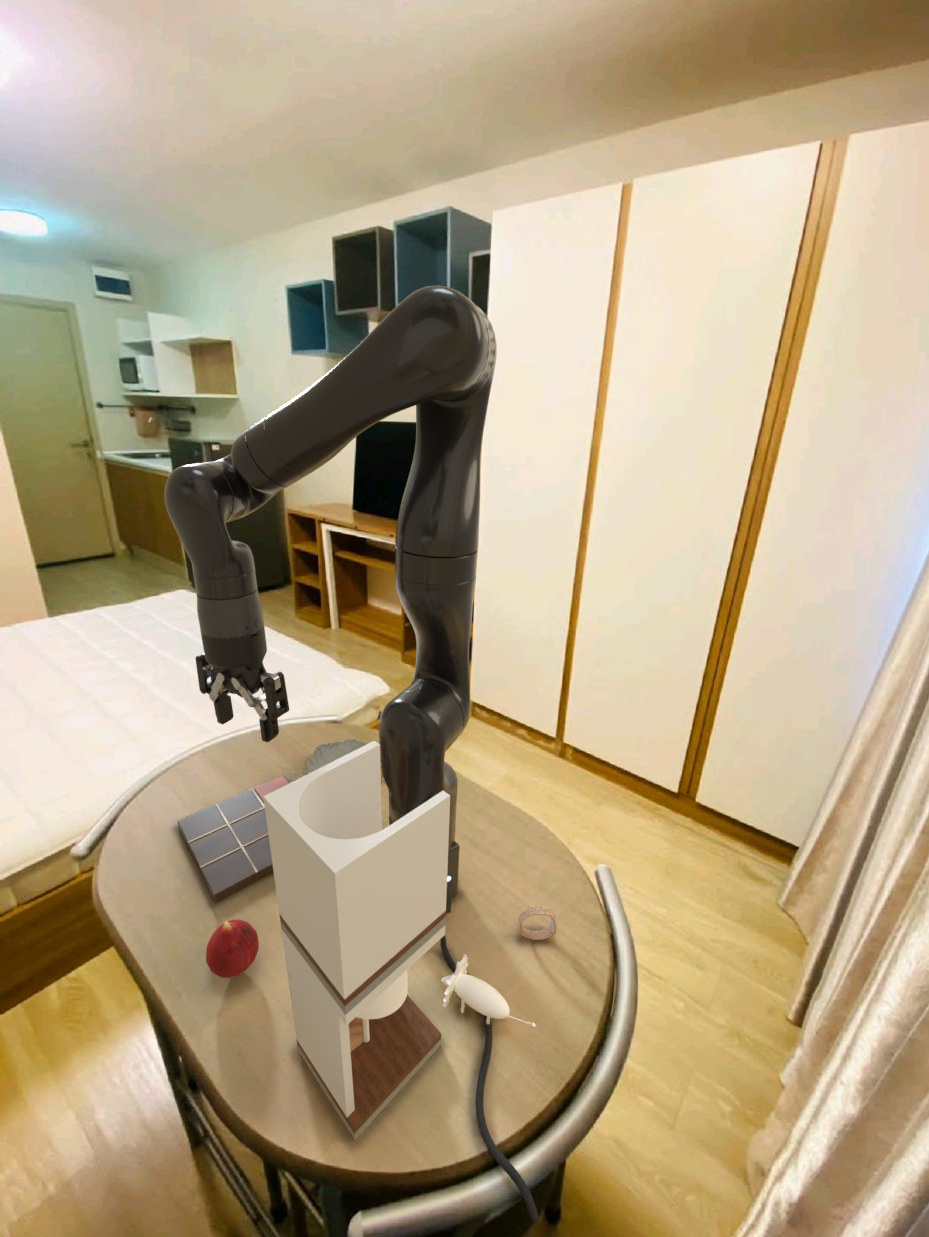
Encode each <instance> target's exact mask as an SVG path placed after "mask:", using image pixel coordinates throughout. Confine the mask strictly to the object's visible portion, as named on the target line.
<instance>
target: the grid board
mask: <svg viewBox="0 0 929 1237" xmlns="http://www.w3.org/2000/svg"><path fill="white" fill-rule="evenodd" d="M289 783H291V781H290V780H289V779H288V778H287V776H285V775H284V774H283V775H281V776H278V777H276V778H273V779H270V780H269V781H267V782H264V783H261V784H260V785H257V786H255V787H250V788H249V789H248V790H245V791H244V792H243V791H242V792H241V793H238V794H236V795H234V796H231V797H229V798H227V799H225V800H222V801H220V802H215V803H214V804H213V805H210V806H208V807H206V808H203V809H201V810H199V811H197V812H193V813H192V814H189V815H187V816H185V817H182V818H180V819H178V820H177V821H176V822H177V826H178V829H179V831H180V833H181V835H182V837H183V839H184V842H185V844H186V845H187V847H188V849H189V851H190V853H191V856H192V858H193V860H194V863H195V864H196V866H197V868H198V870H199V873H200V874H201V876H202V878H203V881H204V882H205V885H206V886H207V888H208V890H209V893H210V895H211V897H212V899H213V901H214V903H217V902H220V901H222V900H223V899H226V898H227V897H230V896H231V895H233V894H234V893H236V892H238V891H241V890H242V889H244V888H246V887H248V886H249V885H251V884H253V883H255V882H257V881H258V880H260V879H262V878H264V877H266V876H268V875H269V874H271V873H274V871H273V864H272V856H271V849H270V842H269V834H268V827H267V820H266V812H265V805H264V798H263V796H265V795H267V794H269V793H271V792H273V791H275V790H277V789H279V788H281V787H283V786H285V785H287V784H289Z"/></svg>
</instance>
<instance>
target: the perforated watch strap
mask: <svg viewBox="0 0 929 1237" xmlns="http://www.w3.org/2000/svg"><path fill="white" fill-rule="evenodd" d="M538 915H541V916H547V917H550V925H549V926H548V927H546V928H545V929H542V930H531V929H527V928H525V927H524V925H523V922H524V921H525V920H527V919H528V918H530V917H533V916H538ZM556 917H557V916H556V913H555V911H554V909H551V908H550V907H548V906H545V905H532V906H528V907H527V908H525V909H523V910H522V911H521V912H520V914H519V916H518V928H519V932H520V934H521V935H522V936H523V937H524V938H526V939H528V940H531V941H532V940H533V941H542V940H546V939H548V938H550V937H554V935H556V934H557V918H556Z"/></svg>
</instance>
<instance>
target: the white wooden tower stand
mask: <svg viewBox="0 0 929 1237" xmlns="http://www.w3.org/2000/svg"><path fill="white" fill-rule="evenodd" d="M366 744H367V745H365V746H363V747H361V748H359V749H357V750H355V751H353V752H351V753H349V754H347V755H345V756H343V757H341V758H339V759H337V760H335V761H333V762H331V763H329V764H327V765H325V766H323V767H321V768H319V769H317V770H315V771H313V772H311V773H309V774H307V775H306V774H305V775H303V776H301V777H299V778H297V779H295V780H293V781H290V783H289V784H287V785H285V786H283V787H281V788H279V789H277V790H275V791H273V792H271V793H269V794H267V795H265V796H263V798H264V805H265V812H266V820H267V827H268V834H269V842H270V849H271V856H272V864H273V878H274V885H275V893H276V900H277V907H278V915H279V922H280V929H281V935H282V936H281V937H282V944H283V950H284V952H283V953H284V958H285V966H286V973H287V980H288V988H289V996H290V1002H291V1010H292V1017H293V1018H292V1019H293V1024H294V1031H295V1039H296V1047H297V1051H298V1053H299V1054H300V1056H301V1057H302V1059H303V1060H304V1063H305V1064H306V1065H307V1067H308V1069H309V1071H310V1072H311V1073H312V1075H313V1077H314V1078H315V1080H316V1081H317V1083H318V1084H319V1086H320V1088H321V1089H322V1091H323V1092H324V1094H325V1096H326V1097H327V1098H328V1100H329V1102H330V1104H331V1105H332V1107H333V1108H334V1109H335V1111H336V1113H337V1114H338V1116H339V1118H340V1120H341V1121H342V1122H343V1124H344V1126H345V1128H346V1129H347V1130H348V1132H349V1133H350V1135H351V1137H352V1138H353V1140H354V1141H357V1139H358V1138H359V1137H360V1136H361V1135H362V1134H363V1132H364V1131H365V1130H366V1129H367V1128H368V1127H369V1126H370V1124H371V1123H372V1122H373V1121H374V1120H375V1119H376V1118H377V1117H378V1116H379V1115H380V1113H381V1112H382V1111H383V1110H384V1109H385V1108H386V1107H387V1106H388V1105H389V1104H390V1103H391V1101H393V1100H394V1098H395V1097H396V1096H397V1095H398V1093H400V1091H401V1090H402V1089H403V1088H404V1087H405V1086H406V1084H407V1083H409V1081H410V1080H412V1078H413V1077H414V1075H416V1074H417V1072H418V1071H419V1070H421V1068H422V1067H423V1066H424V1064H426V1062H427V1061H428V1060H429V1059H430V1058H431V1057H432V1056H433V1055H434V1053H435V1052H436V1051H437V1050H438V1049H439V1048H440V1047H441V1046H442V1033H441V1032H440V1030H439V1029H438V1028H437V1027H436V1026H435V1024H434V1023H433V1022H432V1021H431V1020H430V1019H429V1017H427V1015H425V1013H424V1012H423V1010H422V1009H421V1008H419V1006H418V1005H417V1004H416V1002H414V1000H413V999H412V998H411V997H410V996H409V995H408V990H409V988H408V987H409V986H408V983H409V980H408V976H409V975H408V974H409V973H408V970H409V968H410V967H412V966H413V965H414V964H415V963H416V962H418V960H420V959H421V957H423V956H424V955H425V954H426V953H427V952H428V951H429V950H430V949H431V948H433V947H434V946H435V945H436V944H437V943H438V942H439V941H440V939H441V938H442V937H443V936H444V935H445V936H446V921H447V920H446V919H447V918H446V917H447V914H446V896H447V869H448V843H449V816H450V795H449V794H447V793H446V792H445V791H441V792H440V793H438V794H437V795H435V796H434V797H432V798H431V799H429V800H428V801H426V802H425V803H423V804H422V805H420V806H419V807H417V808H415V809H414V810H412V811H411V812H409V813H408V814H406V815H405V816H403V817H402V818H400V819H399V820H397V821H396V822H394V823H393V824H391V825H390V826H389V825H388V826H386V827H385V828H383V811H382V810H383V808H382V776H381V774H382V767H381V762H380V744H379V742H378V741H376V740H373V741H371V742H369V743H366Z"/></svg>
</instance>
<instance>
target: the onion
mask: <svg viewBox="0 0 929 1237" xmlns="http://www.w3.org/2000/svg"><path fill="white" fill-rule="evenodd" d="M259 947H260V942H259V935H258V932H257V930H256V929H255V928H254V927H253V926H252V924H251V923H250V922H248V921H245V920H243V919H231V920H224V921H223V922H222V924H221V925H219V926H217V928H216V929H215V930H214V932H213V933H212V934H211V935H210V937H209V940H208V942H207V944H206V952H205V962H206V964H207V967H208V968H209V970H210V971H211V973H212V974H213V975H216V976H217V977H219V978H225V979H231V978H234V977H237V976H239V975H241V974H242V973H244V972H245V971H247V970H248V969H249V968H250V967H251V966H252V964H253V963H254V961H255V959H256V957H257V955H258V952H259Z"/></svg>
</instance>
